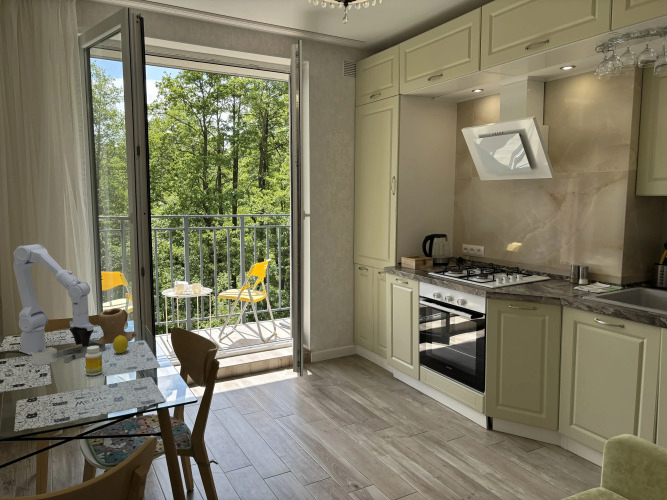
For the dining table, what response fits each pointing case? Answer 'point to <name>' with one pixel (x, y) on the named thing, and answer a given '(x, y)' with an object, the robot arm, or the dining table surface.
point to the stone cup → (113, 325)
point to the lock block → (44, 356)
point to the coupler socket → (80, 347)
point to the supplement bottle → (93, 361)
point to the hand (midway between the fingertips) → (82, 345)
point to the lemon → (120, 344)
